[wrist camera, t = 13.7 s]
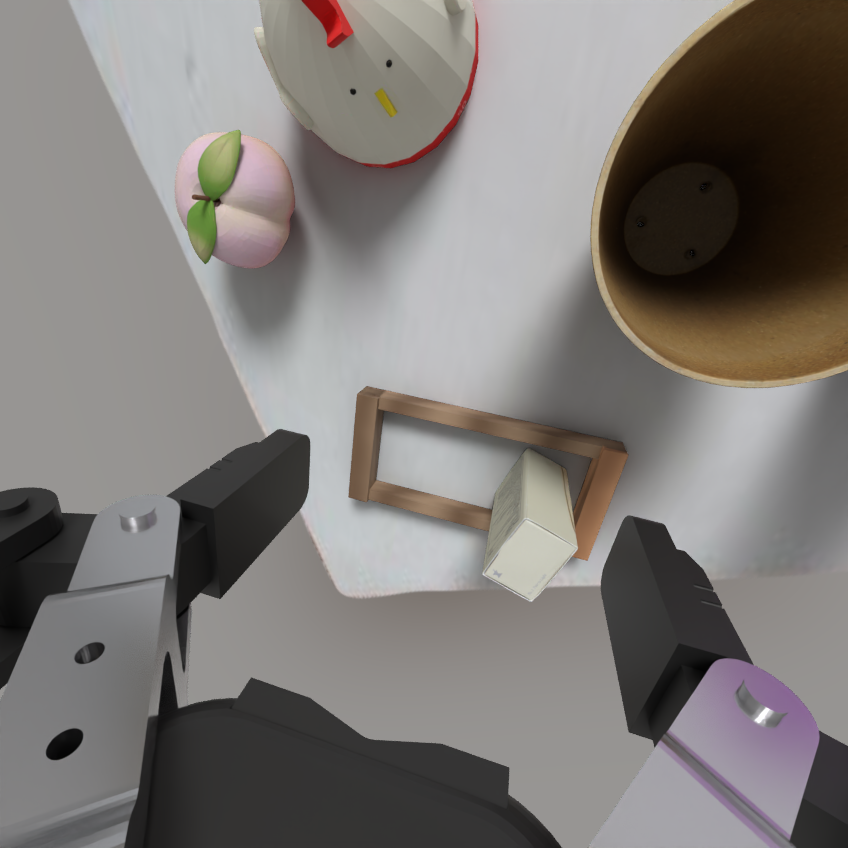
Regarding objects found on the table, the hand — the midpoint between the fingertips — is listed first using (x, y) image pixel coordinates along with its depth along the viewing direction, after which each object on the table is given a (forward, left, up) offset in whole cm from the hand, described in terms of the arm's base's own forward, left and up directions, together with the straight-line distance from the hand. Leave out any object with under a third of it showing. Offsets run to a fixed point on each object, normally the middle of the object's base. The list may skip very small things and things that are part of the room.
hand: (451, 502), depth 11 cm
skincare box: (-5, +14, -28) cm, 32 cm away
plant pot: (-10, -9, -28) cm, 31 cm away
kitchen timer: (+13, -17, -28) cm, 36 cm away
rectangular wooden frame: (0, +14, -28) cm, 31 cm away
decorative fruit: (+22, -6, -28) cm, 36 cm away
